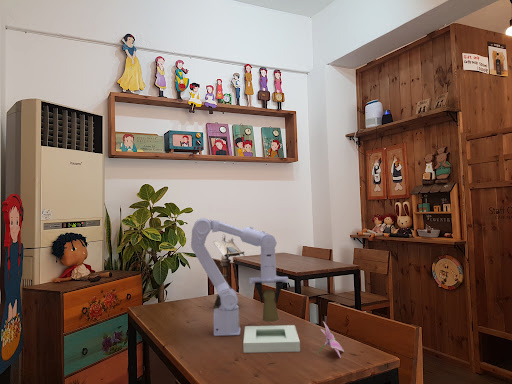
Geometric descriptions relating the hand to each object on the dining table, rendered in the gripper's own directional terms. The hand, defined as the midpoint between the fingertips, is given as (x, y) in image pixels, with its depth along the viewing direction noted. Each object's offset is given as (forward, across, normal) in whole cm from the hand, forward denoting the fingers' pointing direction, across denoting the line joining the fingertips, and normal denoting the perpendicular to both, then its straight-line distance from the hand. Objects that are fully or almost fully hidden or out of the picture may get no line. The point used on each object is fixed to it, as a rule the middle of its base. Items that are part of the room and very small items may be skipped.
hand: (269, 302), depth 145 cm
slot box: (+10, 0, -14) cm, 17 cm away
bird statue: (+10, -17, +33) cm, 39 cm away
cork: (+7, 0, 0) cm, 7 cm away
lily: (+11, +18, -26) cm, 33 cm away
